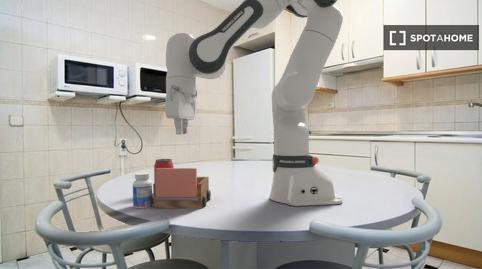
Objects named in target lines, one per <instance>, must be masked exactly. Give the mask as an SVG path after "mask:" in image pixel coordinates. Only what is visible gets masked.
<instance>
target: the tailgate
mask: <svg viewBox="0 0 482 269" xmlns="http://www.w3.org/2000/svg"><path fill="white" fill-rule="evenodd" d="M197 170H198V169H197V167H173V168H156V169H155V177H156V196H155V197H154V200H155V201H198V196H197V177H198V171H197Z"/></svg>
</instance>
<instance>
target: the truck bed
mask: <svg viewBox="0 0 482 269" xmlns="http://www.w3.org/2000/svg"><path fill="white" fill-rule="evenodd" d="M209 182H210V180H209V176H197V196H198V201H155V200H154V197H155V196H156V183H154V182H153V183H152V206H153V209H202V208H203V207H206V206H207V203H208V201H210V200H211V197H212V196H211V195H212V193H211V190H210V189H209V188H210V187H209V186H210V185H209Z"/></svg>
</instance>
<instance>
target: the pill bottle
mask: <svg viewBox="0 0 482 269" xmlns="http://www.w3.org/2000/svg"><path fill="white" fill-rule="evenodd" d="M134 179H135V180H134V181H133V182H132V206H133V207H134V208H135V209H146V208H150V207H151V206H153V205H152V198H153V181H152V180H151V179H150V172H148V171H147V172H136V173H135V174H134Z"/></svg>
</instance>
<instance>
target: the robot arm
mask: <svg viewBox="0 0 482 269" xmlns="http://www.w3.org/2000/svg"><path fill="white" fill-rule="evenodd" d="M337 2H338V0H242V2H240V4H239V6H238V7H236V8H235V9H234V10H233V11H232V12H231V13H230V14H229V15H228V16H227V17H225V18H224V20H222V22H221V23H219V24H218V26H217V27H215V28H214V29H213V30H211V31H209V32H207V33H204V34H201V35H199V36H198V37H196V38H195V37H194V36H193V35H192V34H190V33H185V32H183V33H181V32H180V33H176V34H174V35H172V36H170V37H169V38H168V40H167V42H166V47H165V48H166V50H165V66H166V77H165V86H166V87H165V91H166V92H165V94H166V95H165V108H164V109H165V111H164V113H165V117H166V118H167V119H171V120H172V119H173V123H174V127H175V135H177V136H178V135H179V136H180V135H187V134H188V127H189V121H193V120H194V119H195V116H196V104H197V102H196V98H197V97H198V90H197V84H196V83H197V82H196V81H197V80H196V78H197V77H198V78H202V79H206V80H215V79H217V78H220V77H221V75H223V73H224V71H225V70H226V62H227V61H226V60H227V57H228V54H229V52H230V50H231V48H232V47H233V46H234V45H235V44H236V43H237V42H238V41H239V40H240V39H241V38H242V37H243V36H244V35H245V34H246V33H247V32H248V31H249V30H250V29H265V28H266V27H267V26H269V25H270V24H271V23H273V21H275V20H276V19H277V18H278V17H279V15H281V13H282V12H284V10H288V11H289V12H291V14H293V15H294V16H296V17H297V18H303V19H304V18H306V24H305V26H304V28H303V29H302V31H301V33H300V35H299V38H298V39H297V42H296V44H295V46H294V48H293V50H292V52H291V55H290V57H289V58H288V61H287V62H288V63H287V64H286V66H285V68H284V71H283V73H282V75H281V78H280V79H279V81H278V83H277V84H276V85H275V86H274V88H273V89H272V92H271V111H272V112H271V113H272V124H273V154H272V162H271V163H272V172H273V176H272V183H271V189H270V194H269V199H270V200H271V201H274V202H277V203H281V204H286V205H290V206H292V207H293V206H294V207H301V206H302V207H303V206H322V205H324V206H325V205H339V204H340V205H341V204H342V203H343V198H342V196H341V195H340V194H339V193H337V192H335V187H334V183H333V181H332V179H331V178H330V177H329V176H327V174H325V173H324V172H323V171H321V170H320V169H319V168H317V167H316V165H317V164H319V162H320V159H319V157H316V156H312V155H311V154H310V148H309V147H310V139H309V138H310V133H309V132H310V130H309V127H308V124H307V118H306V116H307V115H306V110H305V108H306V107H308V106H309V104H310V103H311V102H312V100H313V99H314V96H315V94H316V93H315V92H316V89H317V87H318V85H319V82H320V78H321V75H322V72H323V70H324V67H325V66H326V63H327V61H328V59H329V56H330V55H331V53H332V51H333V48H334V47H335V43H336V42H337V39H338V37H339V34H340V32H341V28H342V25H343V22H344V21H343V18H344V17H343V13H342V11H341V10H340V9H339V8H338V7H337V6H335V4H336V3H337Z"/></svg>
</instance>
